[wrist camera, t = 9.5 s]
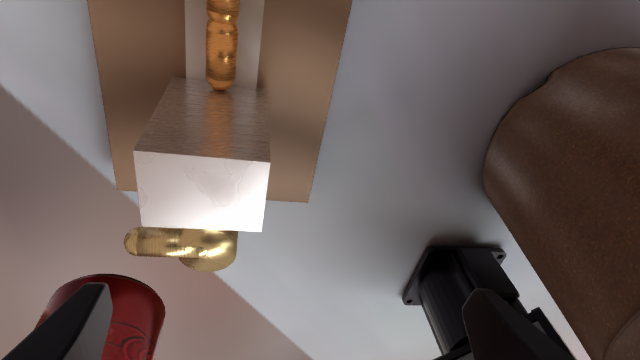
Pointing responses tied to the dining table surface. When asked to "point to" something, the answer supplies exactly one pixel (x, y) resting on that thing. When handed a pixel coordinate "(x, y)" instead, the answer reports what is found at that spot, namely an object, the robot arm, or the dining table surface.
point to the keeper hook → (185, 246)
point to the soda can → (122, 316)
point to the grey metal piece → (207, 143)
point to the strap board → (251, 70)
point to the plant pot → (578, 194)
